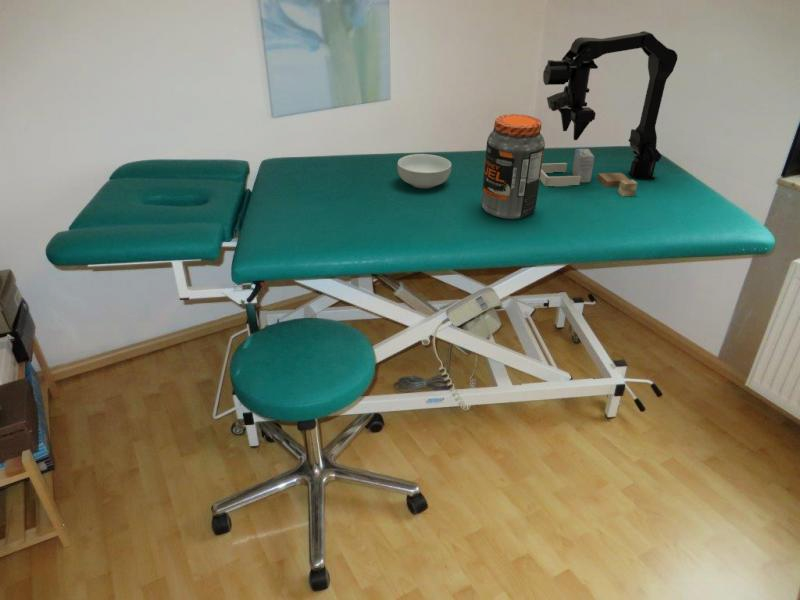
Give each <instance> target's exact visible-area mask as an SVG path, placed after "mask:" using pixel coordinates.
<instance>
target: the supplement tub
mask: <svg viewBox="0 0 800 600" xmlns="http://www.w3.org/2000/svg"><path fill="white" fill-rule="evenodd" d="M494 120H495V121H494V125H493V130H492V131H491V132H490V133H489V135H488V136H487V139H486V150H485V158H484V167H483V169H484V170H483V180H482V188H481V190H482V191H481V192H482V193H481V207H482V209H483V210H484V211H485V212H486V213H488V214H490V215H492V216H494V217H499V218H503V219H512V220H514V219H522V218H525V217H527V216H529V215H531V214H533V212H534V211H535V210H536V207H537V201H538V194H539V188H540V187H539V186H540V182H541V181H540V174H541V167H542V164H543V160H544V159H543V158H544V153H545V146H546V143H545V142H546V141H545V138H544V137H543V134H542V133H541V131H542V120H541V119H539V118H537V117H536V116H532V115H527V114H520V113H519V114H517V113H512V114H511V113H510V114H502V115H499V116H497V117H496V118H495V119H494Z"/></svg>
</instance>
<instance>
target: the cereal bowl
mask: <svg viewBox="0 0 800 600" xmlns="http://www.w3.org/2000/svg"><path fill="white" fill-rule="evenodd" d="M396 165H397V173H398V175H399V177H400V178H401V180H403V182H405V183H407V184H409V185H411V186H412V187H414V188H418V189H431V188H433V187H435V186H439V185H442V184H444V183H445V182H446V181H447V180H448V179H449V177H450V175H451V171H452V162H451V161H450V160H449V159H447V158H445V157H442V156H440V155H435V154H428V153H427V154H426V153H417V154H416V153H415V154H409V155H405V156H402V157H400V158H399V159H398V161H397V164H396Z"/></svg>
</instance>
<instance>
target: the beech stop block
mask: <svg viewBox="0 0 800 600" xmlns="http://www.w3.org/2000/svg"><path fill="white" fill-rule="evenodd" d="M637 187H638V182H637V181H635V180H634V179H630V180H621V181H620V186H619V187H618V190H617V193H618V194H619V195H620V196H621V197H635V195H636V191H637Z"/></svg>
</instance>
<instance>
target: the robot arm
mask: <svg viewBox="0 0 800 600" xmlns="http://www.w3.org/2000/svg"><path fill="white" fill-rule="evenodd" d="M636 49H641V51H643V53H644V54H645V55H646V56H647V58H648V59H647V70H648V75H649V76H648V77H649V80H648V83H647V84H648V85H647V89H646V93H645V98H644V102H643V106H642V112H641V116H640V121H639V124H638V126H637V127H636V128H634V129H633V128H632V129H630V136H629V139H627V140H628V142H629V147H630V148H631V149H632V153H633V155H635V156H634V158H633V160H632V161H631V164H630V168H629V169H630V170H628V173H629V175H631V176H632V177H633V178H634V179H636V180H650V179H654V180H655V179H656V176H654V171H655V168H656V164H657V163H658V162H660V160H661V158H662V154H661V153H660V151H659V149H657V141H658V137H657V136H658V135H657V129H656V124H657V120H658V116H659V112H660V108H661V104H662V103H661V102H662V99H663V96H664V95H663V94H664V90H665V87H666V82H667V80H668V79H669V77H670V76H671V74H672V73H674V72H673V71H674V69H675V66H676V64H677V62H678V54H677V52H676V51H675V50H673V49H671V48H669V47H667V46H666V45H665V44H664V43H662V42H661V41H660V40H659V39H657V38H656V37H655V35H654V34H653V33H651V32H649V31H645V30H642V31H640V32H634V33H630V34H629V33H628V34H624V35H617V36H611V37H605V38H604V37H603V38H596V37H586V36H585V37H583V36H581V37H577V38H576V39H574V41H573V42H572V44H571V46H570V49H568V51H567V52H566V53H565V55H564V56H563V57H562V58H561V60H553V59H551V60H550V59H549V60H547V64H546V65H545V68H544V70H543V73H542V74H543V75H542V79H543V84H544V85H545V86H549V85H550V86H551V85H552V86H553V85H562V86H563V85H565V84H567V85H565V86H564V88H563V91H561V92H557V93H555V94H553V95H550V96H547V97H546V100H547V105H548V109H549V110H551V111H552V112H556V111H558V112H559V113H560V117H561V126H562V131H563V132H567V131H568V129H569V127H570V125H571V122H572V123H573V141H578V140H579V138H580V137H581V135H583V133H584V131H585V129H587V127H588V125H590V123H592V122H593V121H594V120H596V112H595V111H594V110H593V109H592V108H591V107H589V106H588V102H586V98H587V94H588V93H590V88H589V87H588V86H589V80H590V75H591V74H590V73H591V70H597V69H598V68H599V66H598V65H597V64H596V63H595V61H594V60H597V59H598V58H601V57H602V56H603V55H607V54H612V53H618V52H625V51H629V50H631V51H632V50H636ZM587 106H588V107H587Z"/></svg>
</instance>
